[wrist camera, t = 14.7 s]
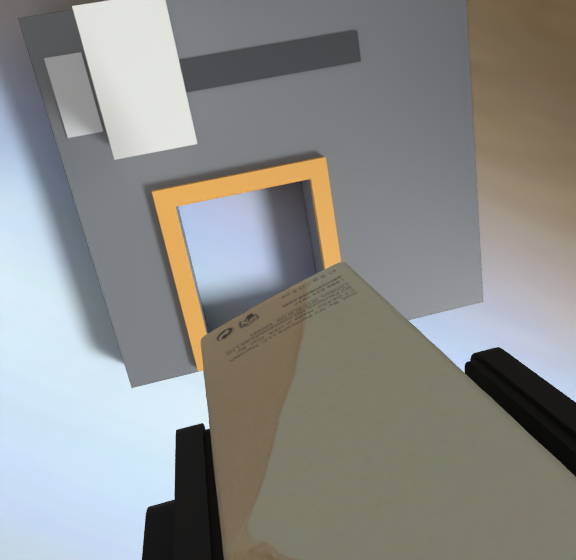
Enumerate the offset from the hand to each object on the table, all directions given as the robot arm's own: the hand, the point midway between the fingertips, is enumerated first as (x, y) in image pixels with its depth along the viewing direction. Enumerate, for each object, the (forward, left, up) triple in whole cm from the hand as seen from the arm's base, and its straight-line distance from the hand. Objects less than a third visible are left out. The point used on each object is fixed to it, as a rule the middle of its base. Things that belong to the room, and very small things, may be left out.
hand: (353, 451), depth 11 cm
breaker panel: (-2, -3, -16) cm, 17 cm away
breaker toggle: (+3, -8, -14) cm, 17 cm away
